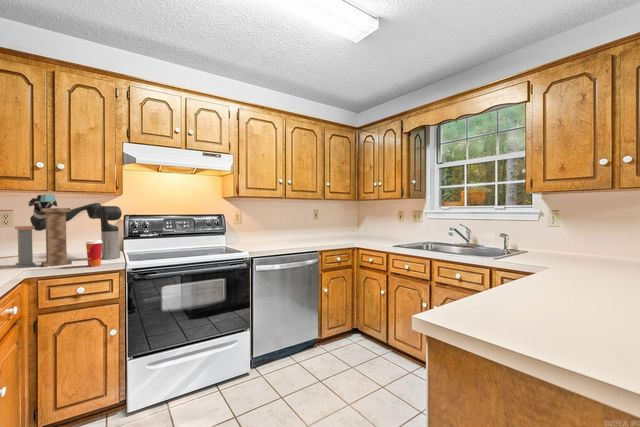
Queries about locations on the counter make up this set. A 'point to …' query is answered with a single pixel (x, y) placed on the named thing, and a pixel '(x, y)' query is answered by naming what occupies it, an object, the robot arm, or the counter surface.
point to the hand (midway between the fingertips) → (45, 196)
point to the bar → (47, 198)
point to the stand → (56, 236)
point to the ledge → (25, 246)
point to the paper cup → (94, 252)
